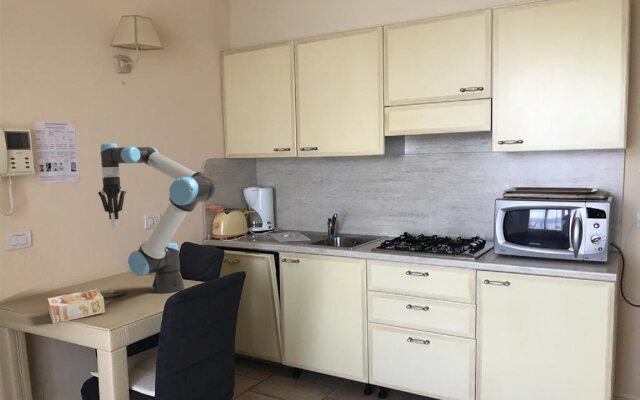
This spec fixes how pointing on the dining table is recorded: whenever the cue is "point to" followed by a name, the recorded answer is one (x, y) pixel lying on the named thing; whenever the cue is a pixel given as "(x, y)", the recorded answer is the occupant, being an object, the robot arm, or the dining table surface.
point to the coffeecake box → (75, 305)
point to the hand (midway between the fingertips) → (114, 226)
